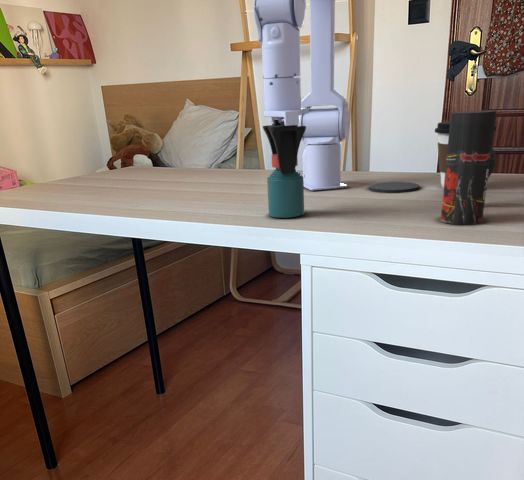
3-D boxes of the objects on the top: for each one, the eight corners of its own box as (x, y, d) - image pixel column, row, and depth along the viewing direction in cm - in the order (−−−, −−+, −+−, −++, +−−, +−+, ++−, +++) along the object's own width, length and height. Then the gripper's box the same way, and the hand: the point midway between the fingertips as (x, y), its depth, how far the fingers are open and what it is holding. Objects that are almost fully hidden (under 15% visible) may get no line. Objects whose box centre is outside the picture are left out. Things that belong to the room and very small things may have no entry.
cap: (272, 165, 88) (272, 153, 87) (297, 163, 88) (297, 152, 87) (271, 168, 84) (270, 156, 84) (297, 167, 84) (297, 155, 83)
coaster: (361, 186, 111) (361, 184, 111) (404, 182, 113) (405, 180, 113) (381, 194, 102) (381, 191, 102) (428, 189, 104) (428, 187, 104)
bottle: (262, 213, 90) (259, 160, 87) (291, 208, 93) (289, 156, 89) (281, 219, 86) (278, 162, 82) (311, 213, 88) (310, 158, 85)
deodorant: (485, 224, 76) (500, 111, 70) (442, 224, 78) (453, 113, 71) (478, 215, 82) (492, 109, 75) (438, 216, 83) (448, 111, 76)
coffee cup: (445, 181, 111) (451, 120, 106) (497, 185, 104) (506, 119, 99) (419, 189, 104) (424, 124, 99) (473, 194, 97) (481, 124, 92)
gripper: (318, 75, 74) (319, 175, 80) (297, 78, 87) (299, 164, 93) (269, 77, 74) (273, 178, 80) (255, 80, 87) (260, 167, 93)
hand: (284, 171), depth 86 cm, fingers closed on cap, 4 cm apart
